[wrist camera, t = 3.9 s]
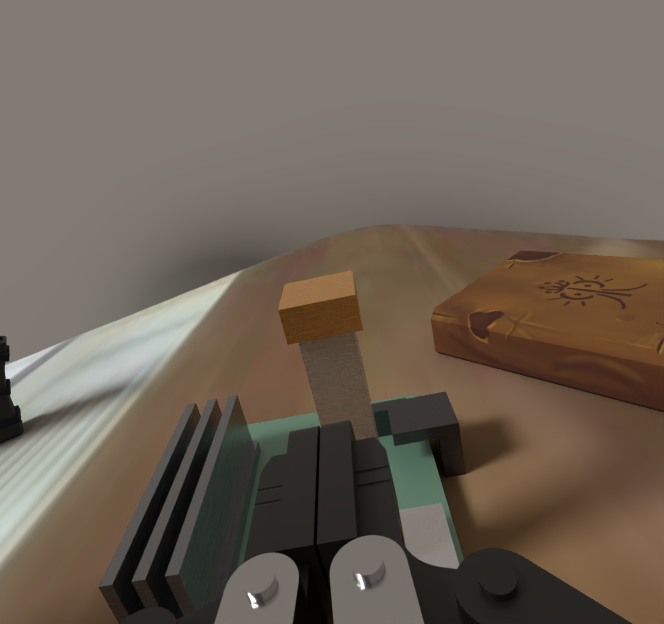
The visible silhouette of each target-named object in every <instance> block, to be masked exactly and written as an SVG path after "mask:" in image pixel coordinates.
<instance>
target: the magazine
mask: <svg viewBox="0 0 664 624" xmlns="http://www.w3.org/2000/svg"><path fill="white" fill-rule="evenodd" d="M9 355H10V354H9V346H8V345H6V336H0V443H1V442H4V441H6V440H8V439H10V438H13V437H15V436H17V435H19V434H21V433H22V432H23V425H22V420H21V412H20V408H19V406H18V405H17V406H14V405H13V402H12V400H11V397H10V394H11V386H10V379H6V377H5V362H6V361H7V362H8V361H9Z"/></svg>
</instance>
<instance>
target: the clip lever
mask: <svg viewBox="0 0 664 624" xmlns="http://www.w3.org/2000/svg"><path fill="white" fill-rule="evenodd" d="M278 311H279V315H280V319H281V322H282V326H283V330H284V333H285V337H286V340H287V344H288V345H289V344H294V343H299V346H300V350H301V353H302V357H303V361H304V365H305V368H306V372H307V376H308V380H309V384H310V387H311V391H312V395H313V399H314V402H315V406H316V410H317V414H318V417H319V421H320V425H321V426H322V425H327V424H332V423H337V422H342V421H347V420H350V421H351V423H352V427H353V431H354V434H355V438H356V440H361V439H366V438H371V437H375V438H376V439H377V440H378V441H379V437H378V432H377V427H376V423H375V418H374V413H373V409H372V404H371V399H370V395H369V390H368V385H367V380H366V376H365V371H364V366H363V362H362V357H361V352H360V348H359V343H358V338H357V334H356V331H361V330H363V327H362V321H361V314H360V307H359V301H358V296H357V291H356V287H355V282H354V277H353V272H352V271H347V272H342V273H337V274H332V275H327V276H322V277H317V278H312V279H308V280H303V281H298V282H293V283H288V284H285V286H284V289H283V293H282V297H281V301H280V305H279V309H278ZM379 442H380V441H379ZM399 512H400V518H401V523H402V529H403V535H404V540H405V546H406V548H407V550H408V551H409V552H410V553H411V554H412V555H413V556H415V557H416V558H417V559H419V560H421V561H423V562H425V563H427V564H430V565H434V566H439V567H446V568H453V569H457V568H458V566H459V562H458V558H457V555H456V551H455V548H454V544H453V541H452V537H451V534H450V530H449V527H448V523H447V520H446V516H445V513H444V509H443V506H442V503H438V504H432V505H426V506H420V507H414V508H408V509H402V510H399Z"/></svg>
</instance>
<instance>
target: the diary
mask: <svg viewBox="0 0 664 624" xmlns="http://www.w3.org/2000/svg"><path fill="white" fill-rule="evenodd" d="M431 323H432V330H433V337H434V344H435V350H436V352H438V353H440V354H444V355H448V356H452V357H455V358H459V359H463V360H467V361H471V362H475V363H478V364H482V365H486V366H490V367H494V368H497V369H501V370H505V371H509V372H513V373H517V374H520V375H524V376H528V377H532V378H536V379H539V380H543V381H547V382H551V383H555V384H558V385H562V386H566V387H570V388H574V389H578V390H581V391H585V392H589V393H593V394H597V395H600V396H604V397H608V398H612V399H616V400H619V401H623V402H627V403H631V404H635V405H639V406H642V407H646V408H650V409H654V410H658V411H661V412H664V260H660V259H644V258H629V257H614V256H598V255H583V254H567V253H552V252H536V251H520V252H518V253H517V254H515V255H514V256H512V257H511V258H509V259H508V260H506V261H505V262H503V263H502V264H500V265H499V266H497V267H496V268H494V269H493V270H491V271H490V272H488V273H487V274H485V275H484V276H482V277H481V278H479V279H478V280H476V281H475V282H473V283H472V284H470V285H469V286H467V287H466V288H464V289H463V290H461V291H460V292H458V293H457V294H455V295H454V296H452V297H450V298H449V299H447V300H446V301H444V302H443V303H441V304H440V305H438V306H437V307H435V308H434V311H433V314H432V317H431Z"/></svg>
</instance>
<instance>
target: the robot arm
mask: <svg viewBox="0 0 664 624" xmlns="http://www.w3.org/2000/svg"><path fill="white" fill-rule="evenodd" d="M119 624H632V623H630V622H629V621H627V620H625V619H624V618H622V617H621V616H619V615H617V614H616V613H614V612H612V611H611V610H609V609H608V608H606V607H604V606H603V605H601V604H599V603H598V602H596V601H594V600H593V599H591V598H590V597H588V596H586V595H585V594H583V593H581V592H580V591H578V590H577V589H575V588H573V587H572V586H570V585H568V584H567V583H565V582H564V581H562V580H560V579H559V578H557V577H555V576H554V575H552V574H550V573H549V572H547V571H546V570H544V569H542V568H541V567H539V566H537V565H536V564H534V563H533V562H531V561H529V560H528V559H526V558H524V557H523V556H521V555H519V554H517V553H514V552H512V551H508V550H504V549H484V550H480V551H477V552H475V553H473V554H471V555H469V556H468V557H466V558H465V559H464V560H463V561H462V562H461V564H460V565H459V566H458V568H457V569H453V568H446V567H439V566H434V565H430V564H427V563H425V562H423V561H421V560H419V559H417V558H416V557H415V556H413V555H412V554H411V553H410V552H409V551H408V550H407V548H406V546H405V540H404V535H403V529H402V523H401V518H400V512H399V506H398V501H397V496H396V491H395V487H394V483H393V478H392V474H391V469H390V465H389V461H388V456H387V452H386V449H385V448H384V446H383V445H382V444H381V443H380V442H379V441H378V440H377V439H376V438H375V437H371V438H366V439H361V440H356V438H355V434H354V431H353V427H352V423H351V421H350V420H347V421H342V422H337V423H332V424H327V425H322V426H321V428H320V426H316V427H311V428H305V429H300V430H295V431H290V433H289V438H288V446H287V454H282V455H276V456H272V457H271V458H270V460H269V461H268V463H267V464H266V466H265V467H264V469H263V470H262V472H261V474H260V479H259V484H258V493H257V495H256V500H255V507H254V510H253V515H252V521H251V526H250V531H249V536H248V541H247V546H246V552H245V557H244V562H243V564H242V565H241V566H240V567H239V568H238V569H237V570H236V571H235V572H234V573H233V574H232V576H231V577H230V579H229V581H228V582H227V585H226V587H225V590H224V593H223V594H222V595H221V596H220V597H219V598H217V599H216V600H214V601H213V602H211V603H209V604H207V605H206V606H204V607H202V608H199V609H197V610H195V611H193V612H191V613H189V614H187V615H185V616H183V617H181V618H179V619H177V620H176V619H175V617H174V615H173V614H172V613H171V612H170V611H169V610H167V609H165V608H162V607H150V608H146V609H142V610H140V611H138V612H135V613H134V614H132V615H130V616H128V617H127V618H126V619H124V620H123V621H122V622H120V623H119Z"/></svg>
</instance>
